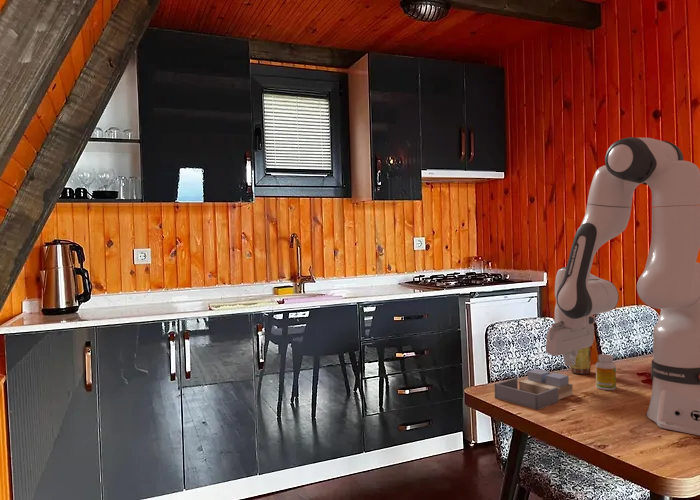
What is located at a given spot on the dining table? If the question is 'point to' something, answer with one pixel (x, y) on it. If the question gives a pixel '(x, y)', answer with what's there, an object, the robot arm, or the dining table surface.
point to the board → (544, 388)
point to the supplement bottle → (605, 372)
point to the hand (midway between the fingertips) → (569, 365)
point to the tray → (524, 395)
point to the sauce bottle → (582, 362)
